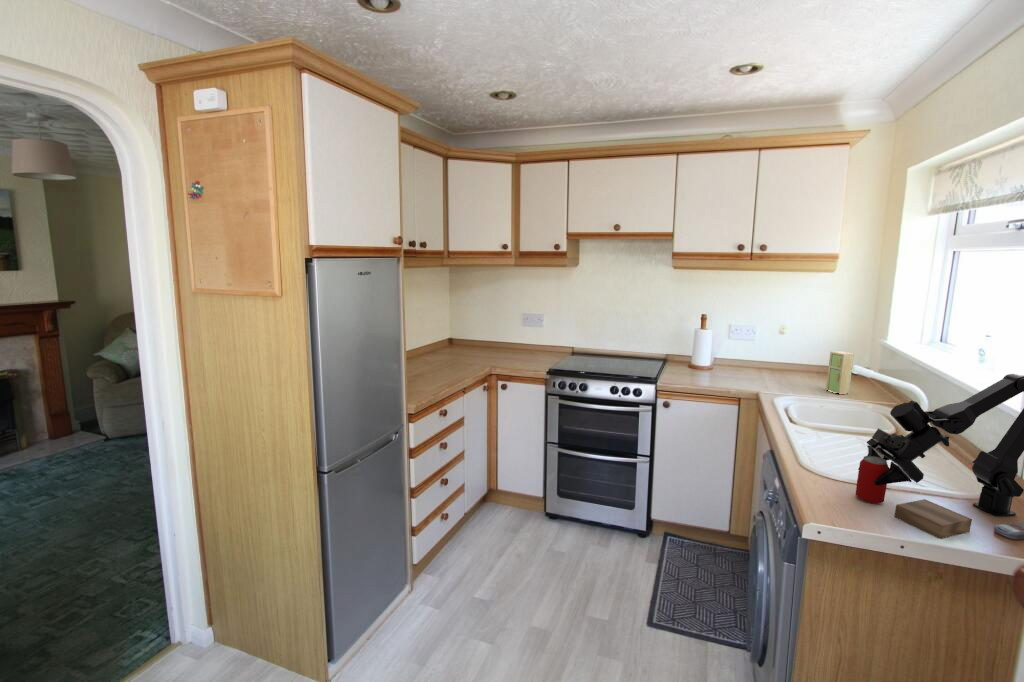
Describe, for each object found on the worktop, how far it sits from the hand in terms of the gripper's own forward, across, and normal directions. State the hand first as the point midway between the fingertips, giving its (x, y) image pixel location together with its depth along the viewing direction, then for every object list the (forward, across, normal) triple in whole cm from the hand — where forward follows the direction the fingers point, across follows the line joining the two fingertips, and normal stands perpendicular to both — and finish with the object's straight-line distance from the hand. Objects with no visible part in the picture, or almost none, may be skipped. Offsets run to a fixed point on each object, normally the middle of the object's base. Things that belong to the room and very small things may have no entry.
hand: (867, 477), depth 145 cm
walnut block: (-3, +12, +12) cm, 17 cm away
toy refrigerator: (-28, -128, +38) cm, 136 cm away
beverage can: (+4, 0, +6) cm, 7 cm away
